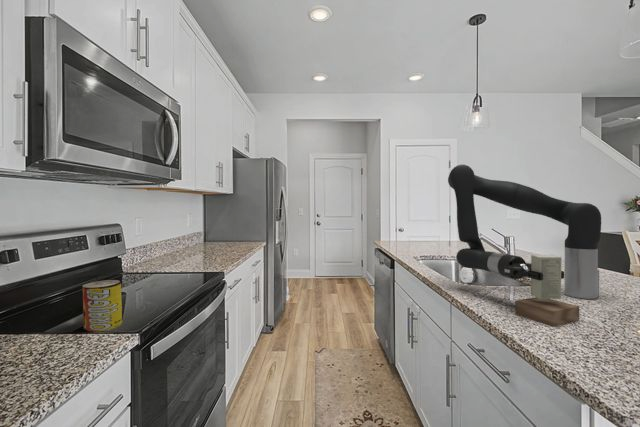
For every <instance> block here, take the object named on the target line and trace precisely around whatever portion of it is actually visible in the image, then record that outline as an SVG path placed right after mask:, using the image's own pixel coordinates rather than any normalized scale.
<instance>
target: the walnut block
mask: <svg viewBox="0 0 640 427" xmlns="http://www.w3.org/2000/svg"><path fill="white" fill-rule="evenodd" d="M514 301H515V302H514V306H515V310H514V312H515V313H514V314H515V315H516V316H519V317H522V318H526V319H529V320H531V321H535V322H538V323H541V324H545V325H547V326H550V327H552V328H554V327H558V325H559V326H562V325H563V326H564V325H566V324H567V323H568V324H571V322H573V323H576V322H580V306H579V305H576V304H572V303H568V302H564V301H559V300H557V299H539V298H537V297H535V296H533V297H528V298H523V299H518V300H517V299H516V300H514Z"/></svg>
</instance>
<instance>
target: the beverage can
mask: <svg viewBox="0 0 640 427" xmlns="http://www.w3.org/2000/svg"><path fill="white" fill-rule="evenodd" d="M122 301H123V300H122V281H121V280H117V279H108V280H100V281H99V280H98V281H93V282H89V283H85V284H83V285H82V314H83V315H82V317H83V320H82V322H83V331H84V332H86V333H87V332H88V333H98V332H105V331H109V330H113V329H116V328H118V327H120V326H121V325H122V324H123V307H122V306H123V305H122V304H123V303H122Z"/></svg>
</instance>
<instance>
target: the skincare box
mask: <svg viewBox="0 0 640 427" xmlns="http://www.w3.org/2000/svg"><path fill="white" fill-rule="evenodd" d="M530 263H531V270H532V271H536V272H541V273H543V280H541V281H539V280H536V279H532V278H530V295H531V296H533V297H537V298H539V299H552V300H561V299H562V279H561V271H562V256H558V255H554V254H531V256H530Z"/></svg>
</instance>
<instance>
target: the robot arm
mask: <svg viewBox="0 0 640 427" xmlns="http://www.w3.org/2000/svg"><path fill="white" fill-rule="evenodd" d="M447 183H448V185H449V187H451V188H452V190H453V191H454V194H455V200H456V202H455V203H456V221H457V222H456V225H457V226H456V227H457V233H458V239H459V241H460V242H462V243H466V244H467V245H468V248H467V247H466V248H461V249H459V250H458V252H457V253H456V260H457V263H458V264H459V265H460V266H462V267H464V268H467V269H475V270H482V271H486V272H489V273H493V274H495V275H498V276H500V277H505V278H509V279H512V280H519V279H531V278H532V279H536V280H539V281H541V280H543V273H541V272H536V271H532V270H531V262H526V260H525V259H524V258H523V257H521V256H518V255H513V254H508V253H503V252H494V251H488V250H487V251H486V250H485V247H484V245H483V242H482V240H481V238H480V235H479V227H478V222H477V215H476V209H475V199H474V197H475V196H478V197H482V198H485V199H487V200H490V201H493V202H494V203H498V204H501V205H503V206H506V207H509V208H513V209H515V210H518V211H522V212H526V213H531V214H536V215H541V216H545V217H546V218H550V219H552V220H554V221H556V222H559V223H562V224H564V225H566V226H567V227H568V229H567V230H568V231H567V237H566V238H565V240H564V271H563V270H561V280H562V279H564V281H563V282H564V286H563V287H564V292H563V293H564V295H566V296H568V297H572V298H577V299H587V300H594V299H595V300H596V299H598V297H600V270H599V268H598V266H599V265H598V264H599V249H598V248H599V243H600V241H601V233H602V214H601V211H600V209H599V208H598V207H597V206H596V205H594V204H592V203H588V202H587V203H586V202H572V201H566V200H563V199H558V198H555V197H552V196H550V195H547V194H545V193H543V192H541V191H539V190H537V189H535V188H533V187H531V186H527V185H525V184H521V183H517V182H513V181H507V180H506V181H505V180H500V179H499V180H496V179H488V178H484V177H482V176H479V175H476V174H475V172H474V169H472V167H470V166H469V165H466V164H459V165H456V166H454V167H452V169H451V170H450V172H449V174H448V177H447ZM474 195H475V196H474Z"/></svg>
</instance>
